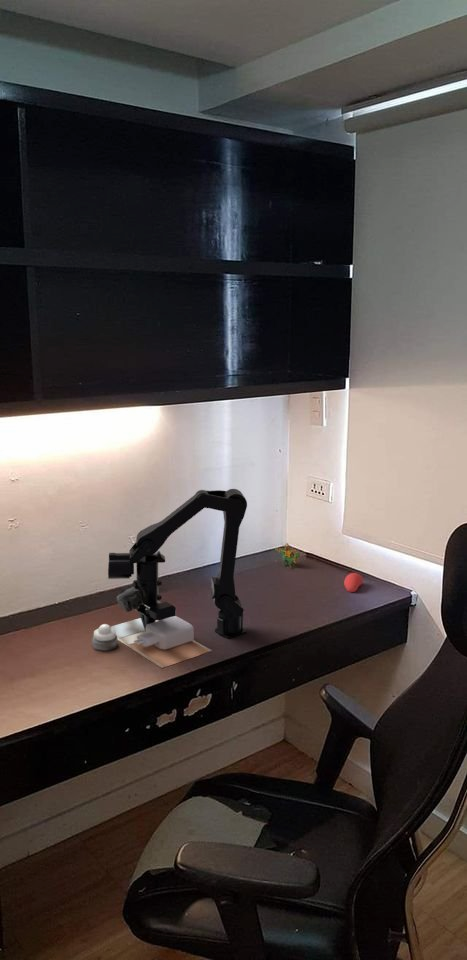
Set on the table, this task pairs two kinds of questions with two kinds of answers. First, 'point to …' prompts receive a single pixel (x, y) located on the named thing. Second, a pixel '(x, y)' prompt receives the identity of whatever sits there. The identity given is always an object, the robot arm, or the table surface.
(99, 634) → the dome
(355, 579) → the stress ball
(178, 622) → the charger
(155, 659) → the game board
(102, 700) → the table surface
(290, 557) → the figurine
